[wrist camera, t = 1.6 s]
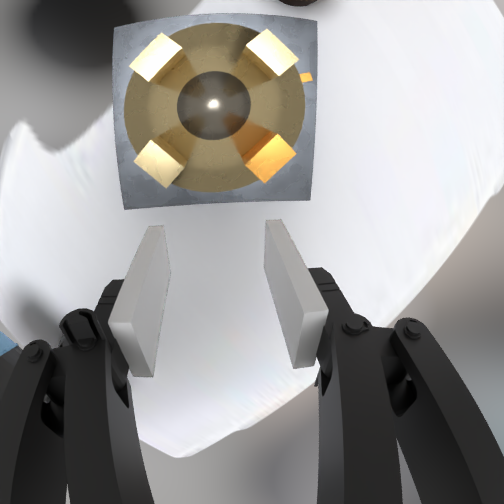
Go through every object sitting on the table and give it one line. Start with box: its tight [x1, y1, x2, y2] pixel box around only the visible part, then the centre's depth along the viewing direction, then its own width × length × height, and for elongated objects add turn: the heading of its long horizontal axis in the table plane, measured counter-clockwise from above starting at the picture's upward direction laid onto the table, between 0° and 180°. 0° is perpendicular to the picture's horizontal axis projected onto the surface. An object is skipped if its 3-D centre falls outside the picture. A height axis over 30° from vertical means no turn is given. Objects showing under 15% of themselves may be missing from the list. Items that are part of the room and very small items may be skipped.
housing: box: [113, 13, 317, 210], centre depth 26 cm, size 22×22×3 cm
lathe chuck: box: [124, 23, 305, 192], centre depth 23 cm, size 18×18×6 cm
